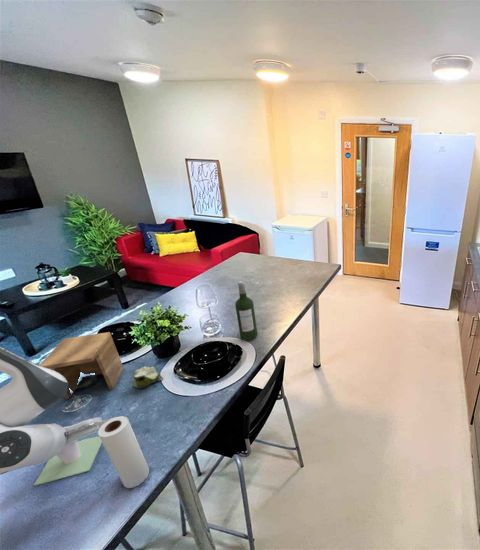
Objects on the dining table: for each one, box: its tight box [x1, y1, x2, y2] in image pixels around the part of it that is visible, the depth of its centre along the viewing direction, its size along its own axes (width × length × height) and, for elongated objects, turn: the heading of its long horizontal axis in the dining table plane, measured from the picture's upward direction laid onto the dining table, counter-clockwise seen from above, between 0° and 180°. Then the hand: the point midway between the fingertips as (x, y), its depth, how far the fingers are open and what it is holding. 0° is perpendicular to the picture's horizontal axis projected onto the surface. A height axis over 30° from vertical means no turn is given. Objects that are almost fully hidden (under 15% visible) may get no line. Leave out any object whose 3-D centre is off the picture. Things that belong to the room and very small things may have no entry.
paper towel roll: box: [97, 415, 150, 489], centre depth 78 cm, size 7×6×21 cm
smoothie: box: [52, 422, 81, 464], centre depth 83 cm, size 6×6×14 cm
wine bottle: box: [234, 280, 258, 341], centre depth 138 cm, size 8×8×30 cm
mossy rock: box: [132, 366, 164, 389], centre depth 113 cm, size 9×9×8 cm
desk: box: [38, 331, 125, 400], centre depth 107 cm, size 14×16×18 cm
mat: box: [33, 435, 103, 487], centre depth 86 cm, size 12×12×1 cm
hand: (62, 440), depth 82 cm, fingers open, 8 cm apart
